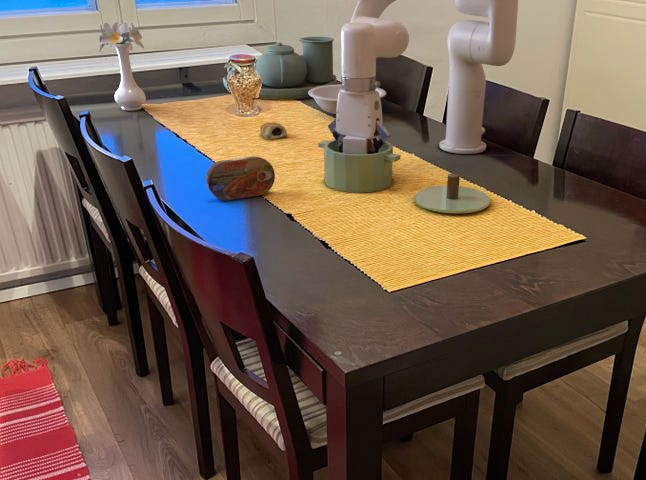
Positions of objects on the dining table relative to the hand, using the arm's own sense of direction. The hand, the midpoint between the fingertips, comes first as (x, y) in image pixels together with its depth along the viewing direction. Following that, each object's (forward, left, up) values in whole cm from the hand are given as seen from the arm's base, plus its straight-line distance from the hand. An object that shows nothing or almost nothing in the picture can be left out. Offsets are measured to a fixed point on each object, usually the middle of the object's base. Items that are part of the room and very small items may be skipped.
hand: (358, 163), depth 172 cm
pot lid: (+1, +25, -4) cm, 25 cm away
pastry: (-21, -42, -4) cm, 47 cm away
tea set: (-73, -79, -4) cm, 108 cm away
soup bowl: (-55, -39, -4) cm, 68 cm away
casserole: (0, 0, -4) cm, 4 cm away
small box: (0, 0, -4) cm, 4 cm away
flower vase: (-22, -99, -4) cm, 102 cm away
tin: (+23, -16, -4) cm, 28 cm away
